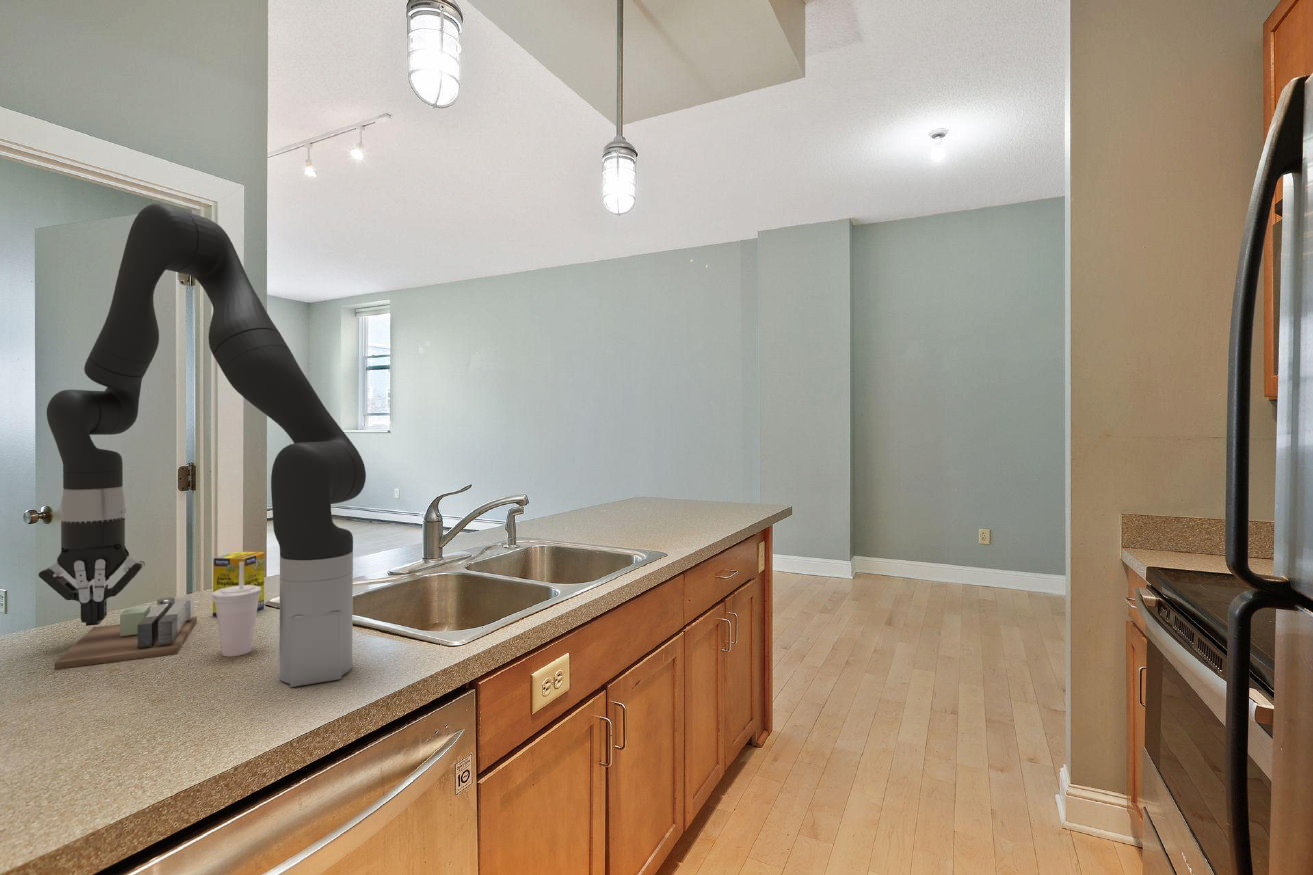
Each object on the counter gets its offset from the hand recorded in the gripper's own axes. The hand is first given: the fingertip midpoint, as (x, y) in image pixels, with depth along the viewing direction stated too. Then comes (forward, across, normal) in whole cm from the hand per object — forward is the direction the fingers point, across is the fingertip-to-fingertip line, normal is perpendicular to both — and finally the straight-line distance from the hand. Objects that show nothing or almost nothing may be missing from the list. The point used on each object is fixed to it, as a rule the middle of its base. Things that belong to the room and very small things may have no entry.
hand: (94, 623), depth 99 cm
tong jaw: (+2, +8, -4) cm, 9 cm away
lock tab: (+2, +5, 0) cm, 6 cm away
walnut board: (+3, +5, -2) cm, 7 cm away
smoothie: (+3, +20, -14) cm, 25 cm away
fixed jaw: (+2, +10, -2) cm, 10 cm away
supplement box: (+3, +18, +9) cm, 21 cm away
